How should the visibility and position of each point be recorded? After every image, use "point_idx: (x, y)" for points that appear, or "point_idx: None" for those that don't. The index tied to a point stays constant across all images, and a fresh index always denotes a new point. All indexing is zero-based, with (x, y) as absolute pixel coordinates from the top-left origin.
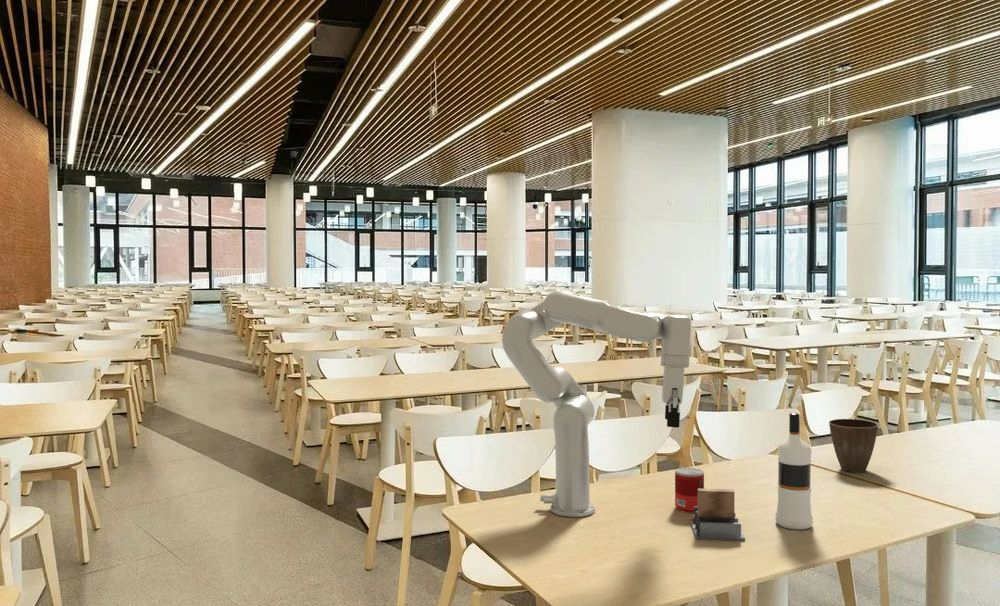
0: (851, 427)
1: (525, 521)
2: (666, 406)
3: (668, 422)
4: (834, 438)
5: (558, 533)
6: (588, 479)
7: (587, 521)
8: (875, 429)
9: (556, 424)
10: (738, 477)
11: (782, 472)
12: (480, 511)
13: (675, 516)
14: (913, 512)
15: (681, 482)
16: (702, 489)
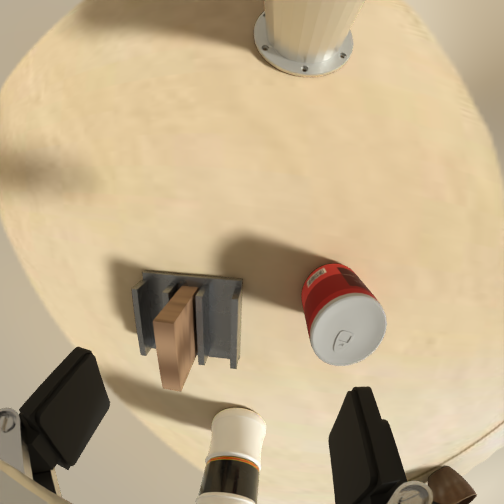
0: None
1: None
2: (367, 478)
3: (66, 367)
4: (456, 489)
5: (163, 26)
6: (299, 29)
7: (232, 62)
8: None
9: None
10: (471, 382)
11: (214, 478)
12: None
13: (278, 253)
14: (292, 500)
15: (320, 298)
16: (166, 332)
